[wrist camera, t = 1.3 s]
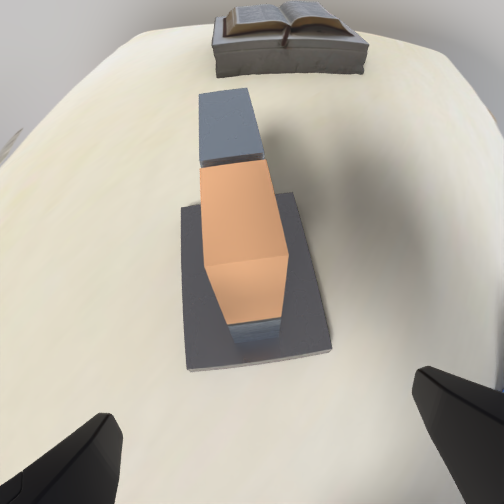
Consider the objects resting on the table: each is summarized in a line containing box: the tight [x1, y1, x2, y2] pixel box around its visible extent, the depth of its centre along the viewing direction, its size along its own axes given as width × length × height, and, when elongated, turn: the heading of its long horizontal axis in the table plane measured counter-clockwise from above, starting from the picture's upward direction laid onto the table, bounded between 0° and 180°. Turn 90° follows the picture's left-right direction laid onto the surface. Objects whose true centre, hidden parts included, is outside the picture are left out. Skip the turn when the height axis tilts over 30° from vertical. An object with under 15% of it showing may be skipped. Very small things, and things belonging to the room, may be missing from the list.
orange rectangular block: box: [200, 160, 289, 326], centre depth 15 cm, size 5×3×7 cm, turn 8°
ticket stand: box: [181, 88, 332, 372], centre depth 19 cm, size 14×10×12 cm
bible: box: [212, 1, 369, 78], centre depth 42 cm, size 23×27×10 cm
